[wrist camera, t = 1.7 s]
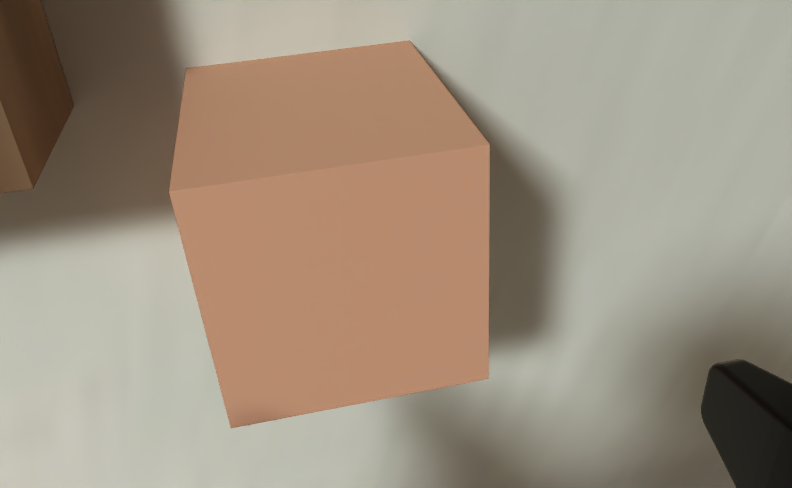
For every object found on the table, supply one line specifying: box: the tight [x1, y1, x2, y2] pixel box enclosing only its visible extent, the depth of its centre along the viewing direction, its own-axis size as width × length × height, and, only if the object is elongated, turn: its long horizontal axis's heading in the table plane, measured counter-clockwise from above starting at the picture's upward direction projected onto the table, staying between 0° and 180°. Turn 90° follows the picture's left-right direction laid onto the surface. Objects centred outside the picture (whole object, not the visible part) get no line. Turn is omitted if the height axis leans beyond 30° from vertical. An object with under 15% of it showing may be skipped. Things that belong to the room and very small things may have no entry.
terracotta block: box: [169, 41, 490, 428], centre depth 15 cm, size 5×5×6 cm
